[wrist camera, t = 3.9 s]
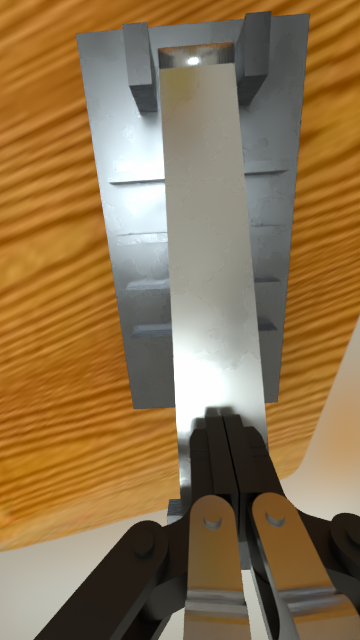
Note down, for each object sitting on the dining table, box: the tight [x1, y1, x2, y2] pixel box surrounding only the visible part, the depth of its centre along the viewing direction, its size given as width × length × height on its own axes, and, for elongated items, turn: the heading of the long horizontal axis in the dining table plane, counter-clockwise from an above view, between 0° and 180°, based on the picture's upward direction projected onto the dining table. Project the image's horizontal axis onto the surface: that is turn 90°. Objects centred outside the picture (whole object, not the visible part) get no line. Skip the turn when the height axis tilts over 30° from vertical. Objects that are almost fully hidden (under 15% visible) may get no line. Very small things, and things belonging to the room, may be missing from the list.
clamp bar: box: [158, 42, 269, 570], centre depth 13 cm, size 5×25×2 cm, turn 4°
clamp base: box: [76, 11, 310, 409], centre depth 20 cm, size 14×28×6 cm, turn 4°
